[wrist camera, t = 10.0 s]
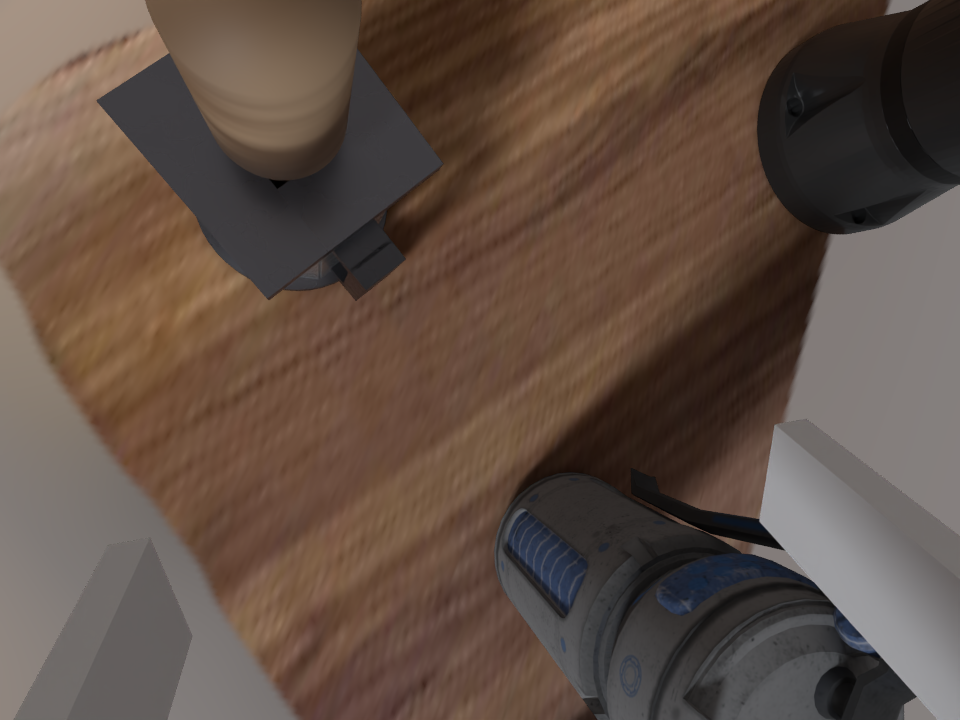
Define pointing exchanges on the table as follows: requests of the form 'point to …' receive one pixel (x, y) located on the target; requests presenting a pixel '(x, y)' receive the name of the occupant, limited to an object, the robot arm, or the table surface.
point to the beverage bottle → (680, 611)
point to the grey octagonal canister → (298, 203)
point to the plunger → (267, 76)
